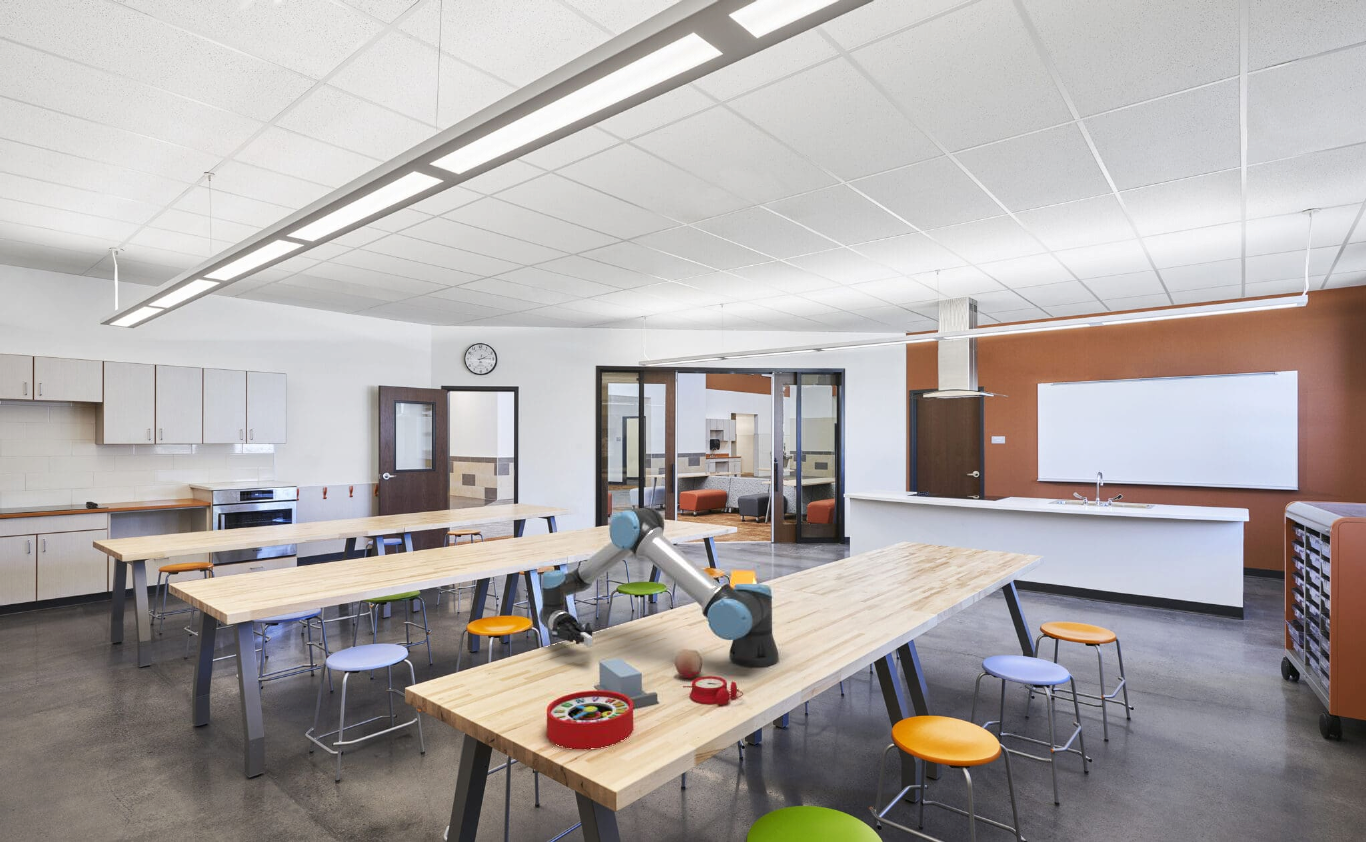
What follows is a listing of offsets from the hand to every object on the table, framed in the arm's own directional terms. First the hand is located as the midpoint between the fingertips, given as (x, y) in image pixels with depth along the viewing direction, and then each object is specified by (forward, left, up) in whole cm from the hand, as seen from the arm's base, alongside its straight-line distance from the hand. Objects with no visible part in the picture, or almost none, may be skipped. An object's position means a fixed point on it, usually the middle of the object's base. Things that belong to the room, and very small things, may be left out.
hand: (590, 642), depth 195 cm
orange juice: (-18, -67, -9) cm, 70 cm away
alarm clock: (-42, +1, -9) cm, 43 cm away
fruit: (-28, -9, -9) cm, 31 cm away
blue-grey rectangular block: (-11, +5, -5) cm, 13 cm away
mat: (-20, +11, -8) cm, 24 cm away
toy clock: (-26, +33, -9) cm, 43 cm away
